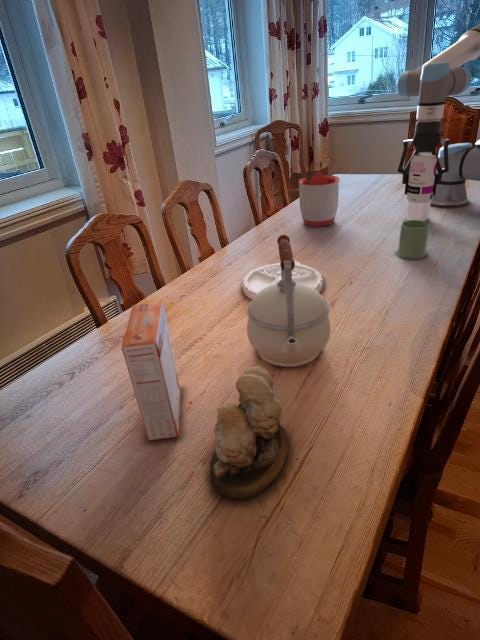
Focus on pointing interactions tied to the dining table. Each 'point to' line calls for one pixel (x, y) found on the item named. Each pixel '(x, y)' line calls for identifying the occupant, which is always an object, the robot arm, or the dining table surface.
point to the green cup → (413, 239)
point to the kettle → (288, 317)
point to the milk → (418, 211)
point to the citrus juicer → (319, 199)
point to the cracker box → (153, 370)
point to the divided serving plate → (272, 275)
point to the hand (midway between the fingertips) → (419, 193)
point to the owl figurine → (249, 439)
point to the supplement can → (421, 177)
